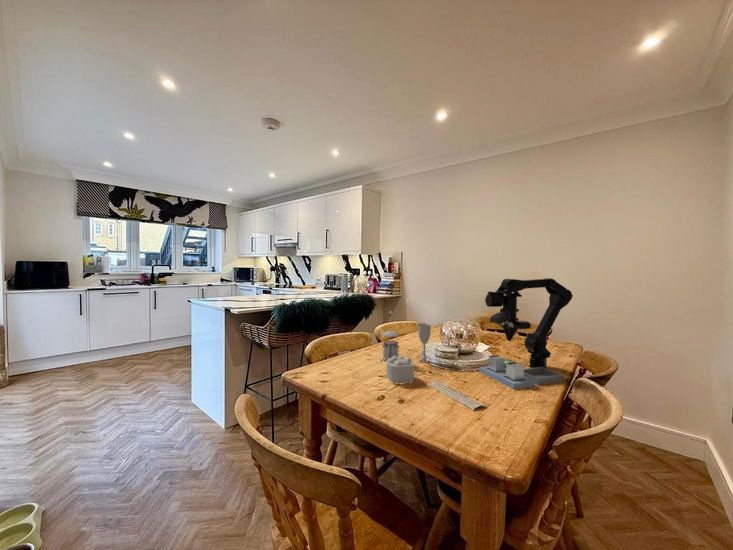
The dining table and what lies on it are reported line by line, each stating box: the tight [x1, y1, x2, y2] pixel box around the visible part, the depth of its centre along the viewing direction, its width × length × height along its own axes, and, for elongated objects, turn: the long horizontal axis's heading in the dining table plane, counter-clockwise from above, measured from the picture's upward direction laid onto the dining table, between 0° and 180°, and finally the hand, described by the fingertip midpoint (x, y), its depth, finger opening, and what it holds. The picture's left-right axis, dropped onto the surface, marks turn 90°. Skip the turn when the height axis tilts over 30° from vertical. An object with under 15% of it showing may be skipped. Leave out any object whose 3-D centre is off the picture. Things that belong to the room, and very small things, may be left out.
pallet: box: [478, 365, 536, 390], centre depth 125 cm, size 10×20×2 cm, turn 17°
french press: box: [382, 310, 400, 362], centre depth 146 cm, size 10×12×25 cm
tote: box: [524, 367, 565, 386], centre depth 125 cm, size 14×11×3 cm
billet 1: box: [488, 354, 506, 373], centre depth 130 cm, size 4×4×8 cm
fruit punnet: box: [386, 355, 415, 383], centre depth 126 cm, size 10×13×9 cm
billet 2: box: [506, 361, 525, 382], centre depth 120 cm, size 4×4×8 cm
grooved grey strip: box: [427, 380, 486, 411], centre depth 110 cm, size 24×7×2 cm, turn 27°
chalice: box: [417, 322, 432, 361], centre depth 149 cm, size 7×7×18 cm
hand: (509, 340), depth 137 cm, fingers closed
